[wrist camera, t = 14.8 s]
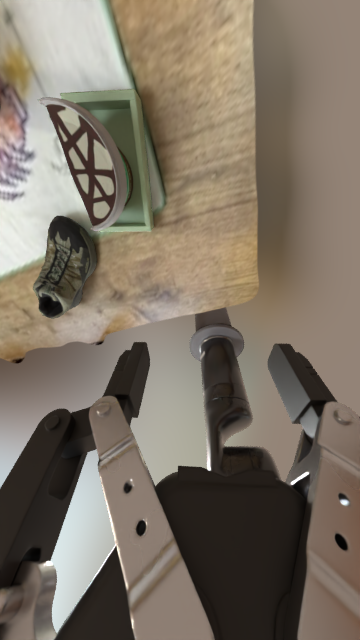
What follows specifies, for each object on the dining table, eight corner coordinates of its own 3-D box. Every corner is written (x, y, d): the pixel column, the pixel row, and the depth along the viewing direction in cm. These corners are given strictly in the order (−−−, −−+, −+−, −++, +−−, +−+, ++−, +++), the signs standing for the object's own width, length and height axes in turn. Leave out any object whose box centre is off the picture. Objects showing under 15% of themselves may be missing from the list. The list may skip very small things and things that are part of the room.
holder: (154, 227, 32) (150, 231, 30) (106, 228, 33) (98, 232, 30) (141, 100, 23) (134, 88, 20) (74, 103, 24) (59, 92, 21)
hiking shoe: (104, 229, 33) (79, 241, 25) (87, 311, 45) (67, 336, 37) (56, 205, 31) (14, 211, 24) (52, 298, 43) (23, 321, 35)
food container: (148, 217, 31) (134, 227, 23) (115, 221, 32) (91, 233, 24) (127, 112, 23) (95, 75, 16) (84, 121, 24) (33, 90, 16)
